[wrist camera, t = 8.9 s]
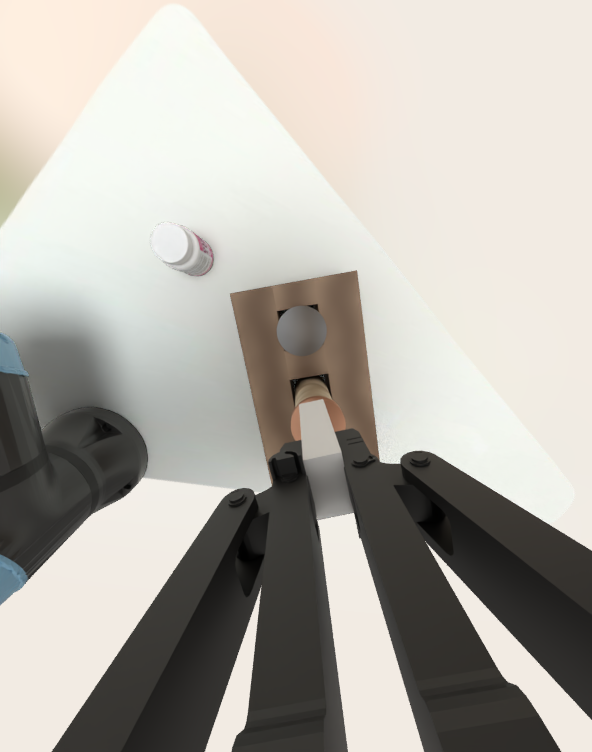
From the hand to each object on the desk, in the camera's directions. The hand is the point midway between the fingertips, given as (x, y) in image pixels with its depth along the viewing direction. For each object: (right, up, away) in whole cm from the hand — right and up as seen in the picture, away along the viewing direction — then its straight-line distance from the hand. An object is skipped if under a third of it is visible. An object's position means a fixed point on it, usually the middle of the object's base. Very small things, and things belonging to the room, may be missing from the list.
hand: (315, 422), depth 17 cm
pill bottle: (-14, +19, +21) cm, 31 cm away
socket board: (+1, +2, +24) cm, 24 cm away
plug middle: (+1, +1, +19) cm, 20 cm away
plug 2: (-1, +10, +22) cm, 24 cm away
